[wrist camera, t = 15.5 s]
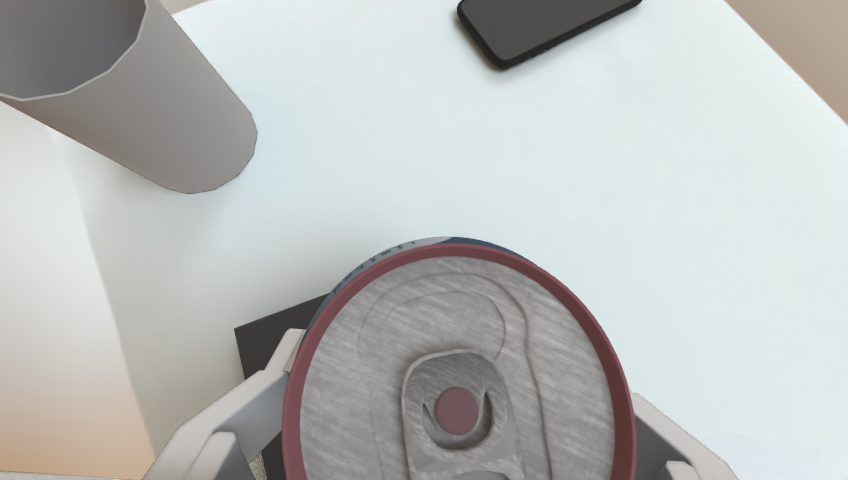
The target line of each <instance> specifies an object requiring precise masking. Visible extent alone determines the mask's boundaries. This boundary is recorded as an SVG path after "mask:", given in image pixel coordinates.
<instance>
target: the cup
mask: <svg viewBox="0 0 848 480" xmlns="http://www.w3.org/2000/svg"><path fill="white" fill-rule="evenodd" d="M0 101H2V102H4V103H6V104H8V105H10V106H11V107H13V108H15V109H17V110H19V111H21V112H23V113H25V114H27V115H28V116H30V117H32V118H34V119H36V120H38V121H40V122H42V123H43V124H45V125H47V126H49V127H51V128H53V129H55V130H57V131H59V132H60V133H62V134H64V135H66V136H68V137H70V138H72V139H74V140H76V141H77V142H79V143H81V144H83V145H85V146H87V147H89V148H91V149H93V150H94V151H96V152H98V153H100V154H102V155H104V156H106V157H108V158H110V159H111V160H113V161H115V162H117V163H119V164H121V165H123V166H125V167H127V168H128V169H130V170H132V171H134V172H136V173H138V174H140V175H142V176H144V177H145V178H147V179H149V180H151V181H153V182H155V183H157V184H159V185H161V186H162V187H164V188H167V189H171V190H175V191H179V192H183V193H187V194H192V193H198V192H204V191H210V190H215V189H217V188H219V187H220V186H222V185H223V184H225V183H227V182H228V181H230V180H232V179H233V178H235V177H236V176H238V175H239V174H240V172H241V171H242V170H243V168H244V167H245V166H246V164H247V163H248V161H249V160H250V159H251V157H252V156H253V154H254V149H255V144H256V138H257V133H258V132H257V129H256V126H255V124H254V121H253V118H252V115H251V112H250V111H249V110H248V109H247V108H246V106H245V105H244V104H243V103H242V102H241V100H240V99H239V98H238V97H237V95H236V94H235V93H234V92H233V91H232V89H231V88H230V87H229V86H228V84H227V83H226V82H225V81H224V80H223V78H222V77H221V76H220V75H219V74H218V72H217V71H216V70H215V69H214V67H213V66H212V65H211V64H210V63H209V61H208V60H207V59H206V58H205V56H204V55H203V54H202V53H201V52H200V50H199V49H198V48H197V47H196V46H195V44H194V43H193V42H192V41H191V39H190V38H189V37H188V36H187V35H186V33H185V32H184V31H183V30H182V28H181V27H180V26H179V25H178V24H177V22H176V21H175V20H174V19H173V18H172V16H171V15H170V14H169V13H168V12H167V10H166V9H165V8H164V7H163V6H162V4H161V3H160V2H159V1H158V0H0Z"/></svg>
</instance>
